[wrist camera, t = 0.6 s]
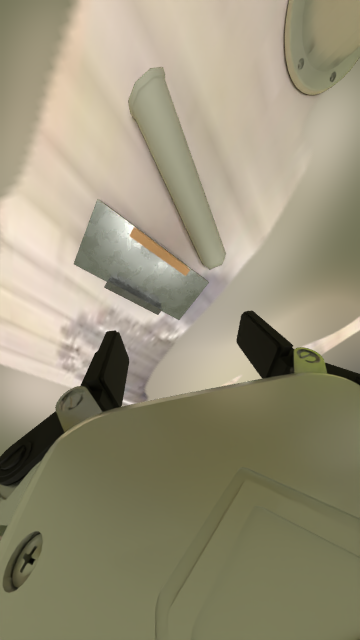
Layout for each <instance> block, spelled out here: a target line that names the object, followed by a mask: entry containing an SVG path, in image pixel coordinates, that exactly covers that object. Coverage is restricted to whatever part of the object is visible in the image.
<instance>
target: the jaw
mask: <svg viewBox="0 0 360 640" xmlns="http://www.w3.org/2000/svg"><path fill="white" fill-rule="evenodd" d="M130 237H131V238H133V239H134V240H135V241H137V242H138V243H140V244H141V245H142V246H144V247H145V248H147V249H148V250H149V251H151V252H152V253H154V254H155V255H157V256H158V257H159V258H161V259H162V260H164V261H165V262H166V263H168V264H169V265H171V266H172V267H173V268H175V269H176V270H178V271H179V272H181V273H182V274H183V275H185V276H186V275H187V274H188V272H189V271H190V269H189V268H188V267H187V266H186V265H185V264H183V263H182V262H181V261H179V260H178V259H177V258H175V257H174V256H173V255H171V254H170V253H169V252H167V251H166V250H165V249H163V248H162V247H161V246H159V245H158V244H157V243H155V242H154V241H153V240H151V239H150V238H149V237H147V236H146V235H145V234H143V233H142V232H141V231H139V230H138V229H137V228H135V227H134V228H133V230H132V232H131V234H130Z"/></svg>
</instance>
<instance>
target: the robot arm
mask: <svg viewBox="0 0 360 640" xmlns="http://www.w3.org/2000/svg"><path fill="white" fill-rule="evenodd" d="M285 55H286V61H287V67H288V71H289V74H290V76H291V79H292V81H293V83H294V84H295V86H296V87H297V88H298V89H299V90H300V91H301V92H303V93H305V94H308V95H317V94H319V93H322V92H325V91H326V90H328V89H329V88H331V87H332V86H334V85H335V84H336V83H337V82H338V81H340V80H341V79H342V78H343V77H344V76H345V75H346V74H347V73H348V72H349V71H350V70H351V68H352V67H353V66H354V64H355V63H356V62H357V60H358V59H359V58H360V0H289V4H288V10H287V17H286V25H285ZM237 344H238V345H239V347H240V348H241V349H242V351H243V352H244V354H245V355H246V356H247V358H248V359H249V361H250V362H251V364H252V365H253V366H254V368H255V369H256V371H257V372H258V373H259V375H260V376H261V377H262V379H258V380H253V381H248V382H243V383H237V384H232V385H227V386H221V387H216V388H211V389H206V390H201V391H196V392H190V393H185V394H180V395H176V396H170V397H166V398H160V399H155V400H150V401H145V402H141V403H136V404H131V405H127V406H122V401H123V395H124V389H125V383H126V377H127V371H128V366H129V357H128V355H127V352H126V349H125V347H124V344H123V341H122V339H121V336H120V333H119V332H116V331H108V332H106V334H105V336H104V339H103V341H102V343H101V346H100V348H99V350H98V352H96V353H95V355H94V357H93V359H92V361H91V364H90V366H89V368H88V370H87V373H86V375H85V377H84V379H83V381H82V384H81V386H77V387H74V388H72V389H70V390H68V391H67V392H66V393H64V394H63V395H62V396H61V397H60V399H59V400H58V402H57V404H56V407H55V408H56V411H55V412H54V413H53V414H52V415H50V416H49V417H48V418H46V419H45V420H44V421H43V422H41V423H40V424H39V425H38V426H36V427H35V428H34V429H32V430H31V431H30V432H28V433H27V434H26V435H25V436H23V437H22V438H21V439H20V440H18V441H17V442H16V443H15V444H13V445H12V446H11V447H9V448H8V449H7V450H6V451H5V452H4V453H3V454H2V456H1V457H0V640H360V374H358V373H355V372H352V371H349V370H346V369H343V368H340V367H337V366H334V365H331V364H328V363H325V362H324V359H323V358H322V356H321V355H320V354H318V353H317V352H315V351H313V350H311V349H308V348H303V347H299V348H296V349H293V348H292V347H293V345H292V344H291V343H290V342H289V341H288V340H286V339H285V338H284V337H283V336H282V335H280V334H279V333H278V332H277V331H276V330H275V329H273V328H272V327H271V326H270V325H269V324H267V323H266V322H265V321H264V320H263V319H262V318H260V317H259V316H258V315H257V314H256V313H255V312H253V311H246V312H244V313H243V314H242V315H241V320H240V325H239V330H238V335H237ZM121 406H122V407H121Z"/></svg>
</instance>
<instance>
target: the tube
mask: <svg viewBox="0 0 360 640" xmlns="http://www.w3.org/2000/svg"><path fill="white" fill-rule="evenodd" d="M128 103H129V109H130V113H131V115H132V117H134V118H135V120H136V122H137V124H138V126H139V128H140V130H141V132H142V135H143V137H144V139H145V141H146V143H147V145H148V147H149V150H150V152H151V154H152V156H153V158H154V160H155V163H156V165H157V167H158V169H159V171H160V173H161V175H162V178H163V180H164V182H165V184H166V186H167V188H168V191H169V193H170V195H171V197H172V199H173V201H174V203H175V206H176V208H177V210H178V212H179V214H180V216H181V219H182V221H183V223H184V225H185V227H186V229H187V232H188V234H189V236H190V238H191V240H192V242H193V244H194V247H195V249H196V251H197V253H198V255H199V257H200V260H201V262H202V264H203V265H205V266H206V267H207V268H208V269H209V270H210V269H212V268H215V267H217V266H220V265H222V263H223V261H224V259H225V255H226V253H225V250H224V247H223V244H222V241H221V239H220V236H219V233H218V230H217V227H216V224H215V221H214V219H213V216H212V213H211V210H210V207H209V204H208V202H207V199H206V196H205V193H204V190H203V187H202V184H201V182H200V179H199V176H198V173H197V170H196V167H195V165H194V162H193V159H192V156H191V153H190V150H189V147H188V145H187V142H186V139H185V136H184V133H183V130H182V128H181V125H180V122H179V119H178V116H177V113H176V110H175V108H174V105H173V102H172V99H171V96H170V93H169V91H168V88H167V85H166V82H165V72H164V69H163V67H158V68H150V69H149V70H148V71H147V72H146V73H145V74H144V75H143V76H142V77H141V78H140V79H138V80H137V81H136V82H135V84H134V87H133V90H132V92H131V95H130V98H129V100H128Z"/></svg>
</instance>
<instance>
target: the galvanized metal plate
mask: <svg viewBox="0 0 360 640" xmlns="http://www.w3.org/2000/svg"><path fill="white" fill-rule="evenodd" d="M134 227H135V226H134V225H132V224H131V223H130V222H128V221H127V220H126V219H124V218H123V217H122V216H120V215H119V214H118V213H116V212H115V211H114V210H112V209H111V208H110V207H108V206H107V205H106V204H104V203H103V202H102V201H100V200H98V199H97V202H96V205H95V207H94V210H93V213H92V216H91V218H90V221H89V224H88V226H87V229H86V232H85V234H84V237H83V240H82V243H81V245H80V248H79V251H78V253H77V256H76V259H75V262H74V264H75V265H76V266H78V267H80V268H82V269H84V270H86V271H88V272H90V273H91V274H93V275H95V276H97V277H99V278H101V279H103V280H105V281H107V283H106V285H105V287H104V288H106V289H108V290H110V291H112V292H114V293H116V294H118V295H120V296H122V297H124V298H126V299H128V300H130V301H132V302H134V303H136V304H138V305H140V306H142V307H144V308H145V309H147V310H149V311H151V312H153V313H155V314H157V315H158V314H159V313H160V312H161V311H163V312H165V313H167V314H169V315H170V316H172V317H174V318H176V319H178V320H180V318H181V317H182V316H183V314H184V313H185V312H186V311H187V309H188V308H189V307H190V306H191V304H192V303H193V302H194V301H195V299H196V298H197V297H198V296H199V294H200V293H201V292H202V291H203V289H204V288H205V287H206V286H207V284H208V283H209V282H208V281H207V280H206V279H204V278H203V277H202V276H200V275H199V274H198V273H196V272H195V271H194V270H192V269H191V268H190V267H188V266H187V265H186V264H185V265H186V266H187V267H188V268H189V269H190V271H189V272H188V274H187V275H186V276H185V275H183V274H182V273H181V272H179V271H178V270H176V269H175V268H173V267H172V266H171V265H169V264H168V263H166V262H165V261H164V260H162V259H161V258H159V257H158V256H157V255H155V254H154V253H152V252H151V251H149V250H148V249H147V248H145V247H144V246H142V245H141V244H140V243H138V242H137V241H135V240H134V239H133V238H131V237H130V234H131V232H132V230H133V228H134ZM135 228H136V227H135ZM137 229H138V228H137ZM138 230H139V229H138ZM139 231H140V230H139ZM141 232H142V231H141ZM142 233H143V232H142ZM143 234H144V233H143ZM145 235H146V234H145ZM146 236H147V235H146ZM147 237H148V236H147ZM149 238H150V237H149ZM150 239H151V238H150ZM151 240H152V239H151ZM153 241H154V240H153ZM154 242H155V241H154ZM155 243H156V242H155ZM157 244H158V243H157ZM158 245H159V244H158ZM159 246H160V245H159ZM161 247H162V246H161ZM162 248H163V247H162ZM163 249H164V248H163ZM165 250H166V249H165ZM166 251H167V250H166ZM167 252H168V251H167ZM169 253H170V252H169ZM170 254H171V253H170ZM171 255H172V254H171ZM173 256H174V255H173ZM174 257H175V256H174ZM175 258H176V257H175ZM177 259H178V258H177ZM178 260H179V259H178ZM179 261H180V260H179ZM181 262H182V261H181ZM182 263H183V262H182ZM183 264H184V263H183Z"/></svg>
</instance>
